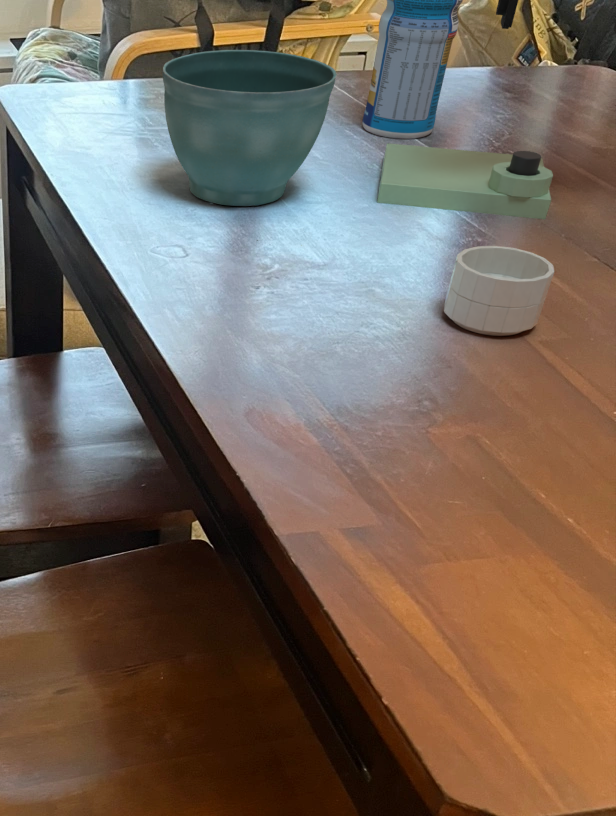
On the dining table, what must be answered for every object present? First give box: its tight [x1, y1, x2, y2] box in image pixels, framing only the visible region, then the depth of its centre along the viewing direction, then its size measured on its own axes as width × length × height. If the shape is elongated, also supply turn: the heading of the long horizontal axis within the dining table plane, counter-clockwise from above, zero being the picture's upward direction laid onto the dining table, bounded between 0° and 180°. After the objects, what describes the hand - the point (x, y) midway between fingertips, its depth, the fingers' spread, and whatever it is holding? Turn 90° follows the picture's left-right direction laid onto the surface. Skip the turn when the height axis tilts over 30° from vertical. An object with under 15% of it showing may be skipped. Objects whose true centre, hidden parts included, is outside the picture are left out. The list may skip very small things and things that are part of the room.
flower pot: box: [162, 49, 338, 207], centre depth 102 cm, size 16×16×11 cm
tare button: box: [508, 150, 542, 176], centre depth 101 cm, size 3×3×2 cm
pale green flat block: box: [376, 142, 554, 220], centre depth 106 cm, size 16×14×4 cm
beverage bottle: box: [362, 0, 464, 140], centre depth 116 cm, size 8×8×20 cm
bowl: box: [443, 245, 555, 337], centre depth 82 cm, size 7×7×4 cm
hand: (561, 30), depth 92 cm, fingers open, 9 cm apart
